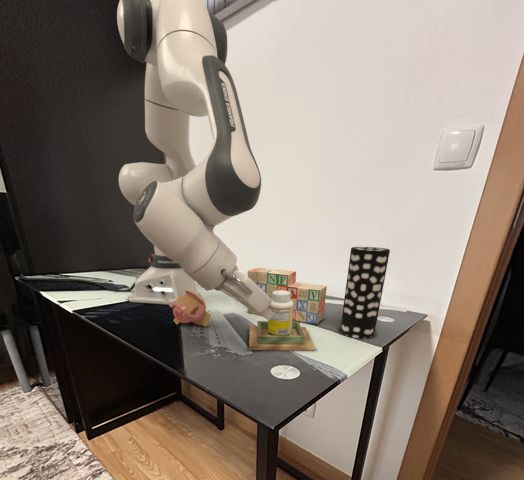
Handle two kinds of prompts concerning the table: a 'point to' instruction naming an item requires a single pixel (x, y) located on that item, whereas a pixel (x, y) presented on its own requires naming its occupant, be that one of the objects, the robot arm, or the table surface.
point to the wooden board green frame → (279, 338)
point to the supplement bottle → (281, 314)
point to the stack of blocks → (292, 292)
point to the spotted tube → (363, 291)
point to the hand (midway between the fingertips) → (259, 310)
